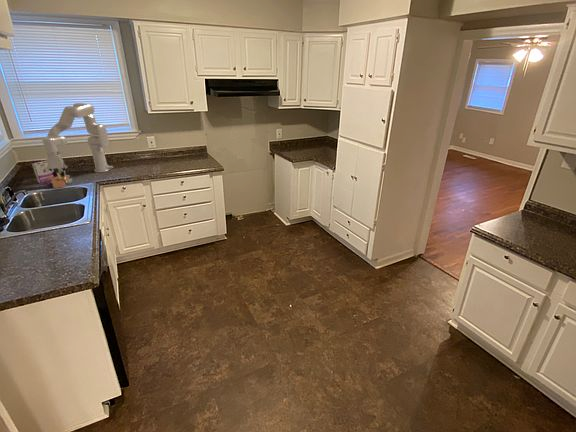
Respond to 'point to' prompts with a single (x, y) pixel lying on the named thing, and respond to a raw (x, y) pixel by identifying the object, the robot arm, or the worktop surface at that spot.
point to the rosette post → (60, 180)
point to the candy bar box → (42, 172)
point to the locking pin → (59, 175)
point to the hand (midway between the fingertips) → (59, 176)
